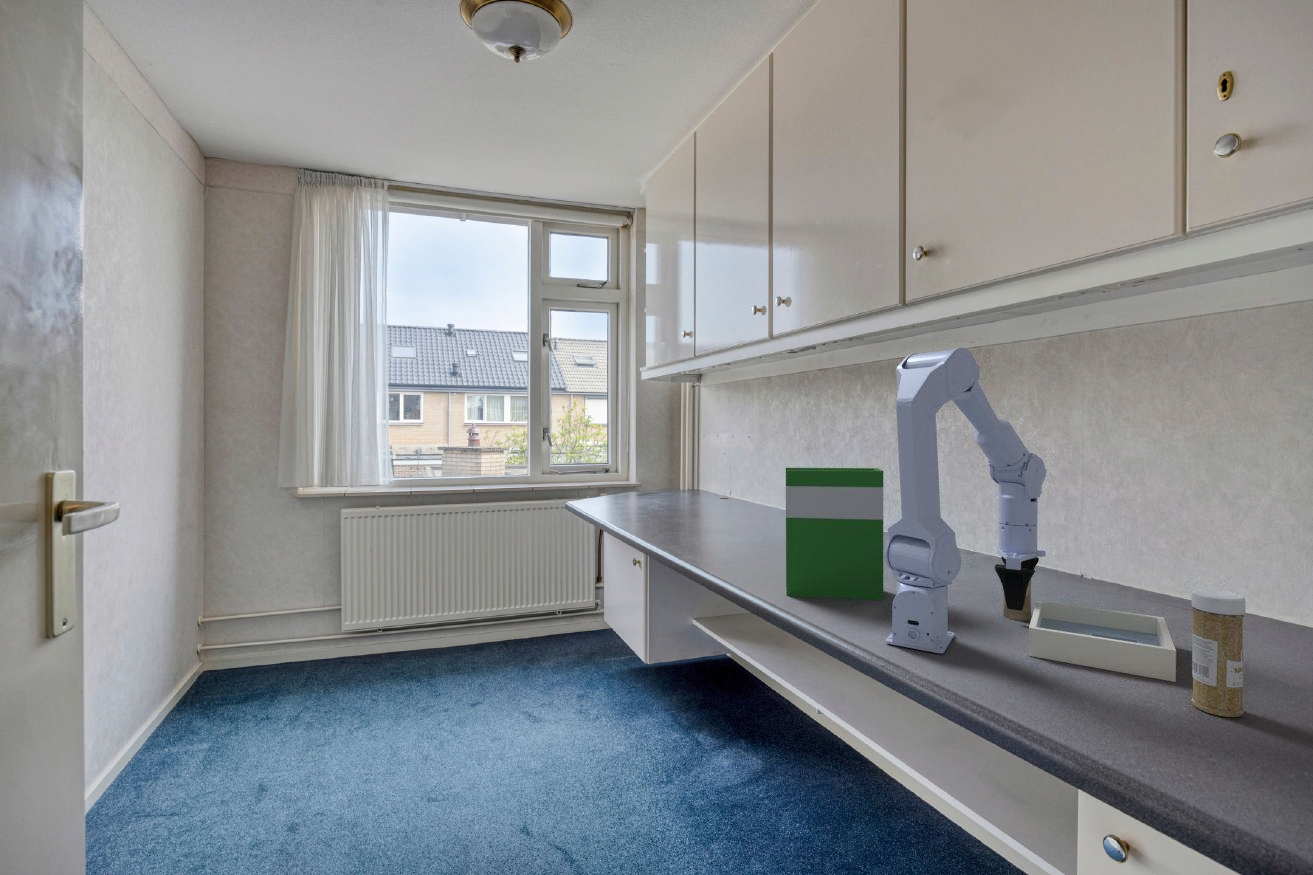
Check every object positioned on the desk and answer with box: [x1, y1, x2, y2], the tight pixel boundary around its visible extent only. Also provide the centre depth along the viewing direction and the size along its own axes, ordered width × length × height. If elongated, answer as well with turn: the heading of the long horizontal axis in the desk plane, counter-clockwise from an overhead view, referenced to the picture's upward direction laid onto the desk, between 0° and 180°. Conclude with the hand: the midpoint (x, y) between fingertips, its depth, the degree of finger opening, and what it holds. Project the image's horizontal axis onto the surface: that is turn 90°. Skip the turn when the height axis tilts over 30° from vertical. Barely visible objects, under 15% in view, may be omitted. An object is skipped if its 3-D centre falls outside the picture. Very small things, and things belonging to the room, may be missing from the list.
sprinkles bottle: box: [1191, 588, 1247, 718], centre depth 71 cm, size 5×5×13 cm
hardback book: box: [785, 467, 884, 601], centre depth 121 cm, size 18×7×24 cm, turn 79°
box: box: [1028, 600, 1177, 683], centre depth 90 cm, size 16×16×4 cm
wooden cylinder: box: [1002, 568, 1032, 622], centre depth 105 cm, size 4×4×8 cm
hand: (1017, 603), depth 105 cm, fingers open, 7 cm apart
